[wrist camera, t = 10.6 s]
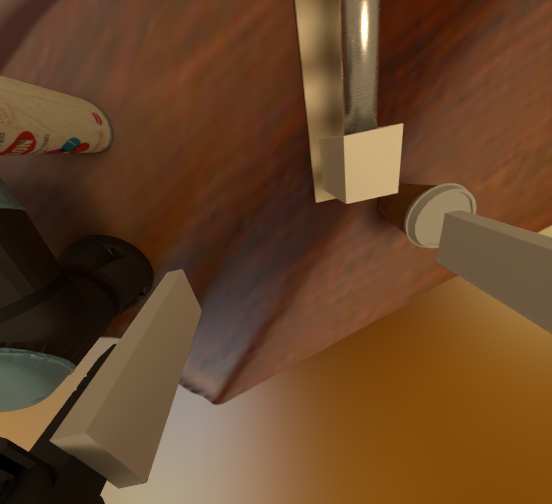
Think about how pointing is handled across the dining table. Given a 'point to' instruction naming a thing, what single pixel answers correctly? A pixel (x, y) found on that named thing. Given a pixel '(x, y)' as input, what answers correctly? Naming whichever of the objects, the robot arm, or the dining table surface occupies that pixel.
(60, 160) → the dining table surface
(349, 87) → the tube
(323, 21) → the board
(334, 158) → the sleeve
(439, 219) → the disposable coffee cup
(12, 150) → the aerosol can
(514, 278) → the robot arm
